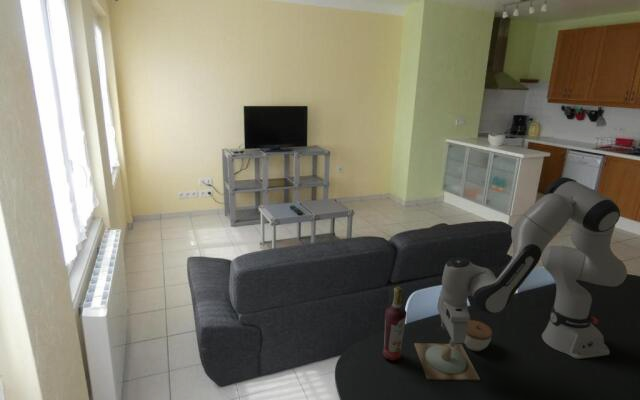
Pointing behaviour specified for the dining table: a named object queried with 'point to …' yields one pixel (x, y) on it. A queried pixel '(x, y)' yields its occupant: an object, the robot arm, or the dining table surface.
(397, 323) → the liquor
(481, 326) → the lidded jar
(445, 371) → the lid
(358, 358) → the dining table surface
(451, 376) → the plate
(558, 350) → the robot arm
